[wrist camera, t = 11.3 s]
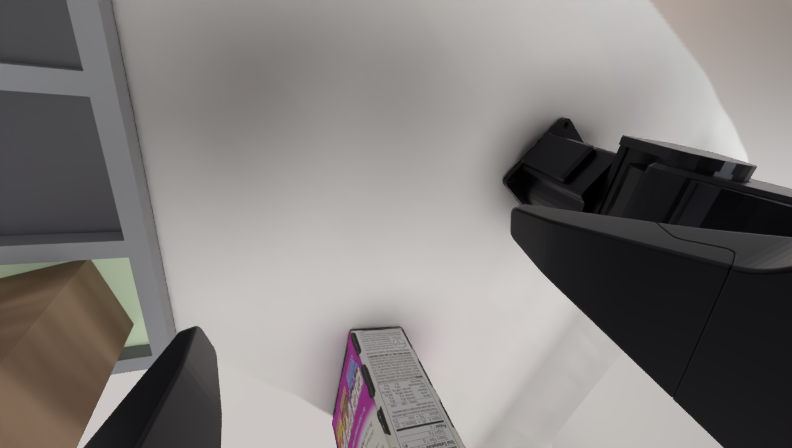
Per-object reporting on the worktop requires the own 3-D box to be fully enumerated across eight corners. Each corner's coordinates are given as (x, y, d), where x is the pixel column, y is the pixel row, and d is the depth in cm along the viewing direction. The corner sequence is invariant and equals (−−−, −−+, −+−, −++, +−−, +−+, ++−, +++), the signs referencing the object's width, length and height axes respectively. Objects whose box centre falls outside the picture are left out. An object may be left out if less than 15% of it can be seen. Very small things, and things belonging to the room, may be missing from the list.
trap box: (-403, -304, 9) (-513, -363, 8) (77, -166, 12) (57, -191, 11) (-26, 376, 19) (-46, 399, 18) (178, 347, 23) (173, 364, 22)
